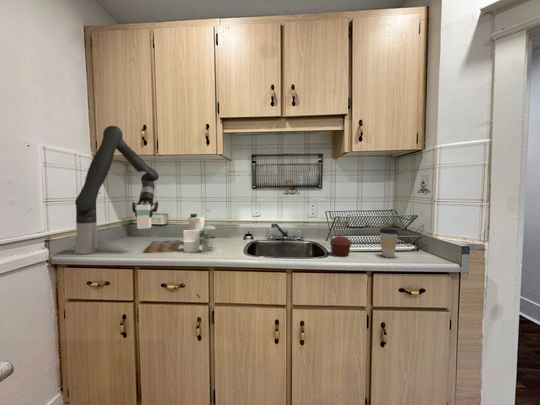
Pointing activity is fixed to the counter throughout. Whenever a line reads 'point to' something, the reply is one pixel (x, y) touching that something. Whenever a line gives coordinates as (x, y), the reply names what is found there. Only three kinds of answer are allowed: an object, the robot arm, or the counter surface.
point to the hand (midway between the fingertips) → (143, 216)
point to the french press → (208, 240)
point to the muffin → (340, 246)
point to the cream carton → (143, 216)
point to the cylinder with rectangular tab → (191, 240)
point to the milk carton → (197, 225)
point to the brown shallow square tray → (163, 246)
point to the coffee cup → (388, 241)
